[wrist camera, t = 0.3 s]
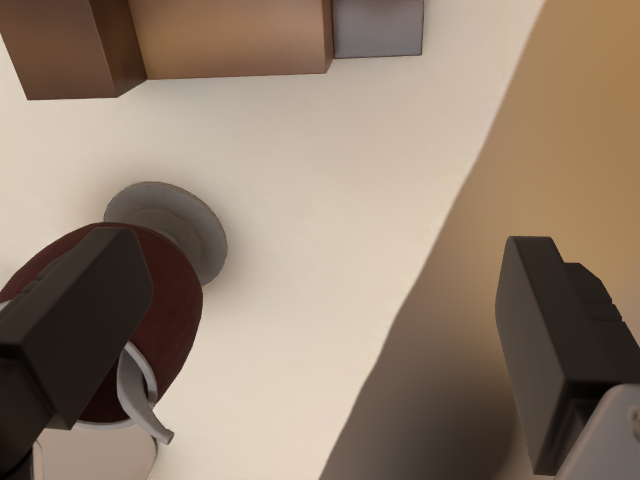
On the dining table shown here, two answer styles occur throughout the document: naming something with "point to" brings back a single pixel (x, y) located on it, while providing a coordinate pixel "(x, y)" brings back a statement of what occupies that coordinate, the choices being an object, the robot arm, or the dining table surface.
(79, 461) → the humidifier
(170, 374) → the mate gourd
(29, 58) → the stand
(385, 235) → the dining table surface
